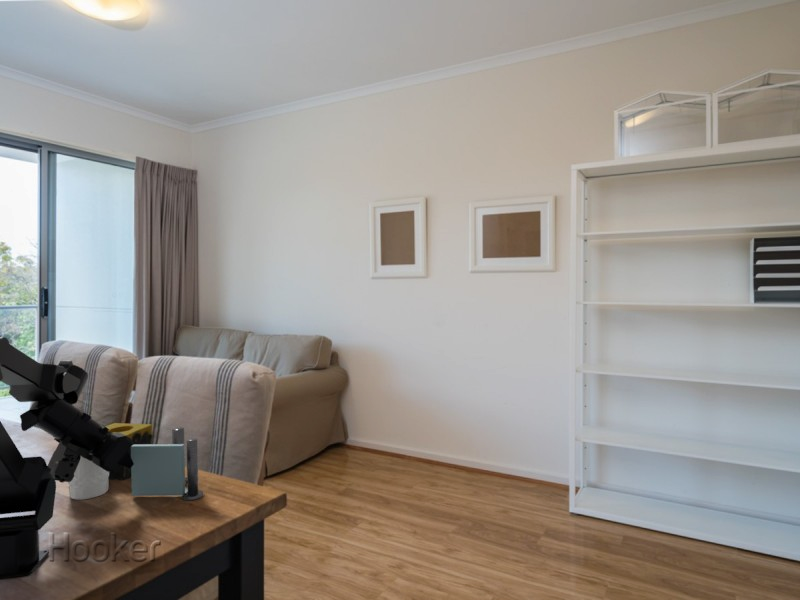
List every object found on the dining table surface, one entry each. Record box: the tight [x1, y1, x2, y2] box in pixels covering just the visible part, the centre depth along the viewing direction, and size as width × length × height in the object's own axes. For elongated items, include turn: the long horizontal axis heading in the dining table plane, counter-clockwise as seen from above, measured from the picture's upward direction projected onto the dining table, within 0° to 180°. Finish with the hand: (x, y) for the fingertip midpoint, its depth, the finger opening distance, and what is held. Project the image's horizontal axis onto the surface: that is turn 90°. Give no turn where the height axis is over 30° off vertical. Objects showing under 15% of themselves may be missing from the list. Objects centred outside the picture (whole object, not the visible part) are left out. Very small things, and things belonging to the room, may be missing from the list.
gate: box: [130, 443, 186, 497], centre depth 101 cm, size 10×1×10 cm, turn 90°
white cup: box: [67, 456, 109, 501], centre depth 103 cm, size 8×8×10 cm
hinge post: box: [181, 438, 204, 502], centre depth 101 cm, size 4×4×12 cm
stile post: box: [171, 426, 187, 483], centre depth 109 cm, size 3×3×12 cm
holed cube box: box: [104, 422, 153, 481], centre depth 115 cm, size 10×10×10 cm
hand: (131, 466), depth 98 cm, fingers closed
